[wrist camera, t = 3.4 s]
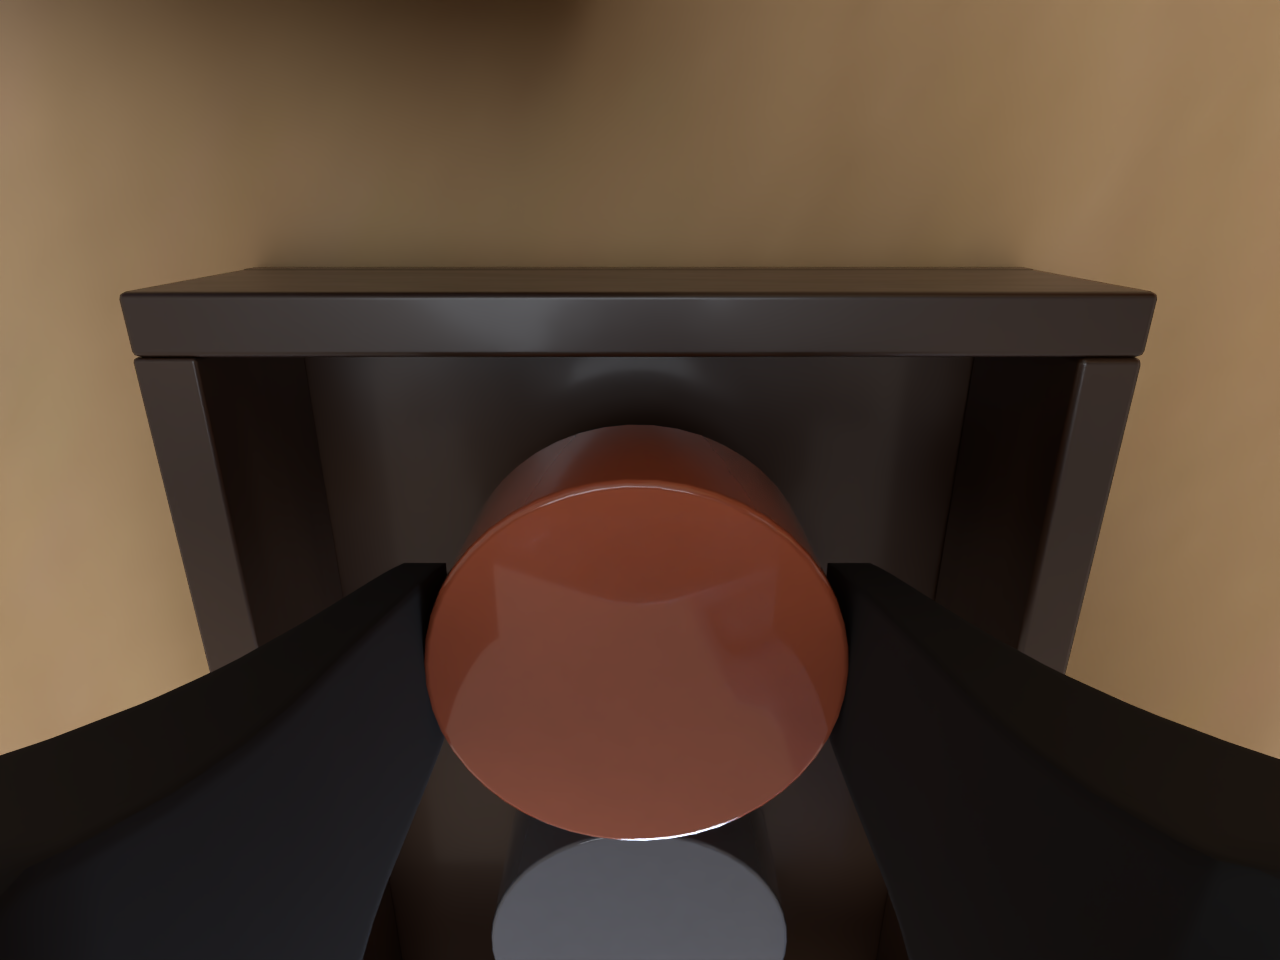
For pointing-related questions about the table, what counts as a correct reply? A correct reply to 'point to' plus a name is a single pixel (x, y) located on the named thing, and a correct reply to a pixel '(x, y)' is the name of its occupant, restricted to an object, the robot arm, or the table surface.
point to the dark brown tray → (637, 395)
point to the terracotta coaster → (636, 638)
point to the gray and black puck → (639, 895)
